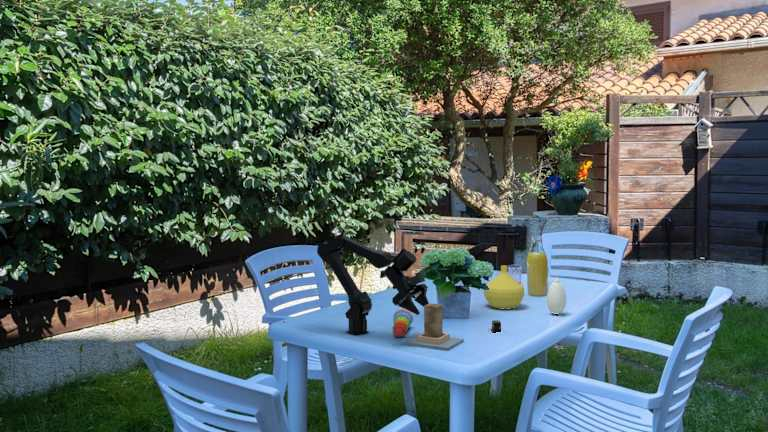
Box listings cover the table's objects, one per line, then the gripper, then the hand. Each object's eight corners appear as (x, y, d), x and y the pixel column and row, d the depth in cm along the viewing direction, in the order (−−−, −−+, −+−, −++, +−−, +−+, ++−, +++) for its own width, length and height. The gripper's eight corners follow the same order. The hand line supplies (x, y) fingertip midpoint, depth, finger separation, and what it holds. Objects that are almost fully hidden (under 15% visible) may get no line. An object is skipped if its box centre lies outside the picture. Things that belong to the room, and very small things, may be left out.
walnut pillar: (424, 341, 246) (424, 305, 245) (430, 338, 250) (430, 303, 249) (436, 342, 243) (436, 307, 243) (442, 339, 248) (442, 304, 247)
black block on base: (485, 329, 270) (485, 318, 270) (503, 329, 270) (503, 317, 270) (489, 337, 258) (489, 325, 257) (508, 336, 258) (508, 325, 257)
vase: (475, 307, 310) (475, 265, 309) (500, 301, 322) (500, 261, 321) (507, 313, 296) (507, 270, 295) (532, 307, 309) (532, 265, 307)
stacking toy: (397, 328, 273) (391, 344, 255) (391, 310, 273) (384, 324, 254) (415, 323, 272) (410, 339, 254) (409, 305, 271) (404, 319, 253)
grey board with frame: (402, 344, 245) (402, 336, 245) (420, 335, 257) (420, 328, 257) (448, 350, 236) (448, 342, 236) (463, 341, 249) (463, 333, 248)
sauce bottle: (558, 317, 287) (558, 275, 286) (543, 314, 294) (543, 273, 292) (569, 314, 292) (569, 273, 291) (554, 312, 298) (554, 271, 297)
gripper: (399, 268, 241) (427, 302, 237) (423, 262, 257) (449, 293, 253) (380, 288, 246) (407, 322, 241) (404, 281, 262) (430, 312, 257)
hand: (424, 311), depth 248 cm, fingers open, 9 cm apart
